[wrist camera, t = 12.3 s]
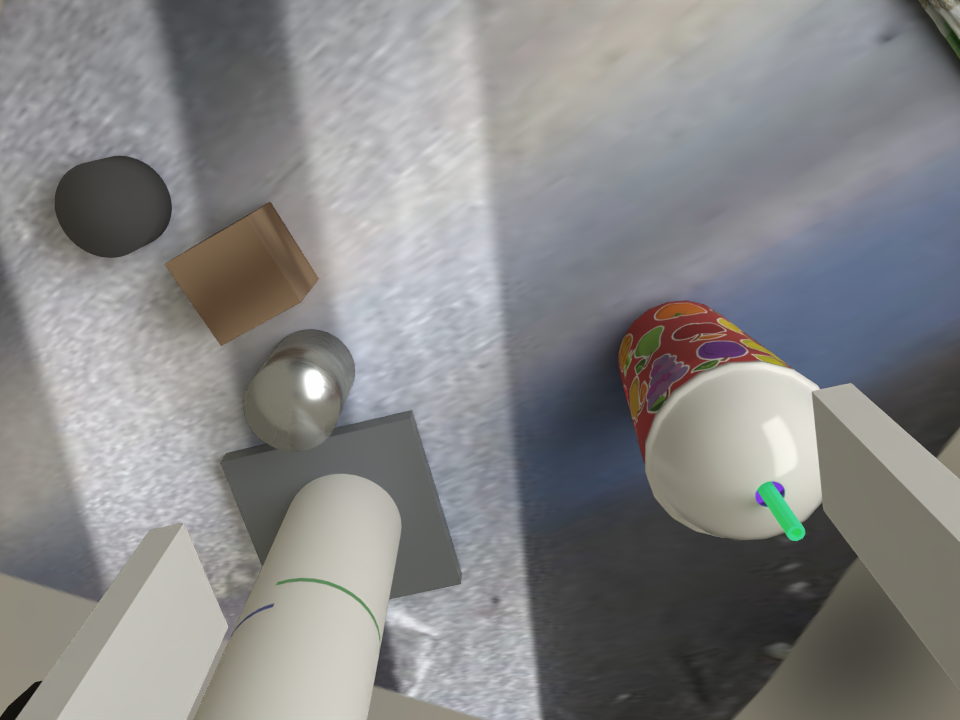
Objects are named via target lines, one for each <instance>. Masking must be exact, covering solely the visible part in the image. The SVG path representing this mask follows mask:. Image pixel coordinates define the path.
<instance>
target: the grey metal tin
mask: <svg viewBox="0 0 960 720" xmlns="http://www.w3.org/2000/svg"><path fill="white" fill-rule="evenodd" d="M354 378H355V364H354V360H353V357H352V355H351V353H350V351H349V350H348V348H347V347H346V346H345V345H344V344H343V342H342V341H340V340H339V339H338V338H336V337H335V336H333V335H331V334H329V333H327V332H324V331H320V330H313V329H308V330H300V331H297V332H294V333H292V334H290V335H289V336H287V337H286V338H284V339H283V340H282V341H281V342H280V343H279V345H278V346H277V347H276V349H275V350H274V351H273V353H272V354H271V355H270V357H269V358H268V359H267V361H266V362H265V363H264V365H263V366H262V367H261V369H260V370H259V371H258V373H257V374H256V375H255V377H254V378H253V379H252V381H251V382H250V383H249V385H248V387H247V389H246V391H245V395H244V400H243V409H244V414H245V418H246V420H247V423H248V425H249V426H250V428H251V430H252V431H253V432H254V433H255V435H256V436H258V437H259V438H260V439H261V440H262V441H263V442H265V443H267V444H268V445H270V446H272V447H274V448H277V449H280V450H284V451H293V452H295V451H305V450H308V449H312V448H314V447H316V446H318V445H320V444H321V443H322V442H324V441H325V440H326V439H327V438H328V437H329V436H330V434H331V433H332V432H333V430H334V428H335V426H336V423H337V421H338V418H339V416H340V414H341V411H342V409H343V406H344V404H345V402H346V399H347V397H348V395H349V392H350V390H351V387H352V385H353V382H354Z"/></svg>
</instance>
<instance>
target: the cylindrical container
mask: <svg viewBox="0 0 960 720" xmlns="http://www.w3.org/2000/svg"><path fill="white" fill-rule="evenodd" d="M401 528H402V525H401V517H400V514H399V511H398V508H397V506H396V504H395V502H394V501H393V499H392V498H391V497H390V495H389V494H388V493H387V492H386V491H385V490H384V489H382V488H381V487H380V486H379V485H377V484H376V483H374V482H372V481H370V480H368V479H366V478H363V477H360V476H357V475H350V474H331V475H327V476H322V477H320V478H317V479H315V480H313V481H311V482H310V483H308V484H307V485H305V486H304V487H303V488H302V489H301V490H300V491H299V492H298V493H297V494H296V496H295V497H294V499H293V501H292V502H291V504H290V507H289V509H288V511H287V513H286V516H285V518H284V520H283V522H282V524H281V527H280V529H279V531H278V533H277V536H276V538H275V540H274V542H273V545H272V547H271V549H270V551H269V553H268V556H267V558H266V560H265V562H264V565H263V567H262V569H261V571H260V573H259V576H258V578H257V580H256V582H255V584H254V587H253V589H252V591H251V593H250V595H249V598H248V600H247V602H246V604H245V606H244V609H243V611H242V613H241V615H240V617H239V620H238V622H237V624H236V626H235V628H234V631H233V633H232V635H231V638H230V640H229V642H228V644H227V646H226V648H225V651H224V653H223V655H222V657H221V660H220V662H219V664H218V666H217V669H216V671H215V673H214V675H213V678H212V680H211V682H210V684H209V686H208V688H207V691H206V693H205V695H204V697H203V700H202V702H201V704H200V706H199V709H198V711H197V713H196V715H195V718H194V720H367V717H368V711H369V706H370V701H371V695H372V690H373V684H374V679H375V674H376V668H377V663H378V657H379V651H380V646H381V641H382V635H383V630H384V624H385V619H386V613H387V608H388V602H389V597H390V591H391V586H392V580H393V575H394V569H395V564H396V558H397V553H398V547H399V542H400V536H401Z"/></svg>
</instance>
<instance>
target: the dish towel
mask: <svg viewBox="0 0 960 720" xmlns="http://www.w3.org/2000/svg"><path fill="white" fill-rule="evenodd" d="M919 2H920V4H921V5H922V7H923V8H924V10H925V11H926V12H927V13H928V15H929V16H930V17H931V18H932V19H933V21H934V22H935V24H936V25H937V27H938V29H939V31H940V32H941V33H942V34H943V35H944V37H945V38H946V40H947V41H948V43H949V44H950V46H951V47H952V48H953V50H954V51H955V53H956V54H957V56H958V57H959V59H960V0H919Z"/></svg>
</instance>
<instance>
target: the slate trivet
mask: <svg viewBox="0 0 960 720" xmlns="http://www.w3.org/2000/svg"><path fill="white" fill-rule="evenodd" d="M220 463H221V465H222V468H223V470H224V472H225V475H226V477H227V480H228V482H229V485H230V487H231V490H232V492H233V495H234V497H235V500H236V502H237V505H238V507H239V510H240V512H241V515H242V517H243V520H244V522H245V524H246V527H247V529H248V532H249V534H250V537H251V539H252V542H253V544H254V547H255V549H256V552H257V554H258V557H259V559H260V562H261V564H262V567H263V565H264V562H265V560H266V558H267V556H268V553H269V551H270V549H271V547H272V545H273V542H274V540H275V538H276V536H277V533H278V531H279V529H280V527H281V524H282V522H283V520H284V518H285V516H286V513H287V511H288V509H289V507H290V504H291V502H292V501H293V499H294V497H295V496H296V494H297V493H298V492H299V491H300V490H301V489H302V488H303V487H304V486H305V485H307V484H308V483H310V482H311V481H313V480H315V479H317V478H320V477H322V476H327V475H331V474H350V475H357V476H360V477H363V478H366V479H368V480H370V481H372V482H374V483H376V484H377V485H379V486H380V487H381V488H382V489H384V490H385V491H386V492H387V493H388V494H389V495H390V497H391V498H392V499H393V501H394V502H395V504H396V506H397V508H398V511H399V514H400V517H401V525H402V528H401V536H400V542H399V547H398V553H397V558H396V564H395V569H394V575H393V580H392V586H391V591H390V597H389V599H392V598H397V597H402V596H406V595H411V594H416V593H420V592H425V591H430V590H435V589H439V588H444V587H449V586H454V585H458V584H461V577H462V572H461V569H460V566H459V563H458V559H457V556H456V553H455V549H454V546H453V543H452V540H451V536H450V533H449V530H448V527H447V523H446V520H445V517H444V513H443V510H442V507H441V504H440V500H439V497H438V494H437V491H436V487H435V484H434V481H433V478H432V474H431V471H430V468H429V464H428V461H427V458H426V455H425V451H424V448H423V445H422V442H421V438H420V435H419V432H418V429H417V425H416V422H415V419H414V415H413V412H412V410H411V411H407V412H403V413H398V414H394V415H390V416H386V417H381V418H377V419H373V420H368V421H364V422H360V423H355V424H351V425H347V426H343V427H338V428H334V430H333V432H332V433H331V434H330V436H329V437H328V438H327V439H326V440H325V441H324V442H322V443H321V444H320V445H318V446H316V447H314V448H312V449H308V450H305V451H295V452H293V451H284V450H280V449H277V448H274V447H272V446H270V445H268V444H265V445H261V446H257V447H252V448H248V449H244V450H239V451H235V452H231V453H226V455H225V456H224V458H223V459H222V461H221V462H220Z"/></svg>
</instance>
